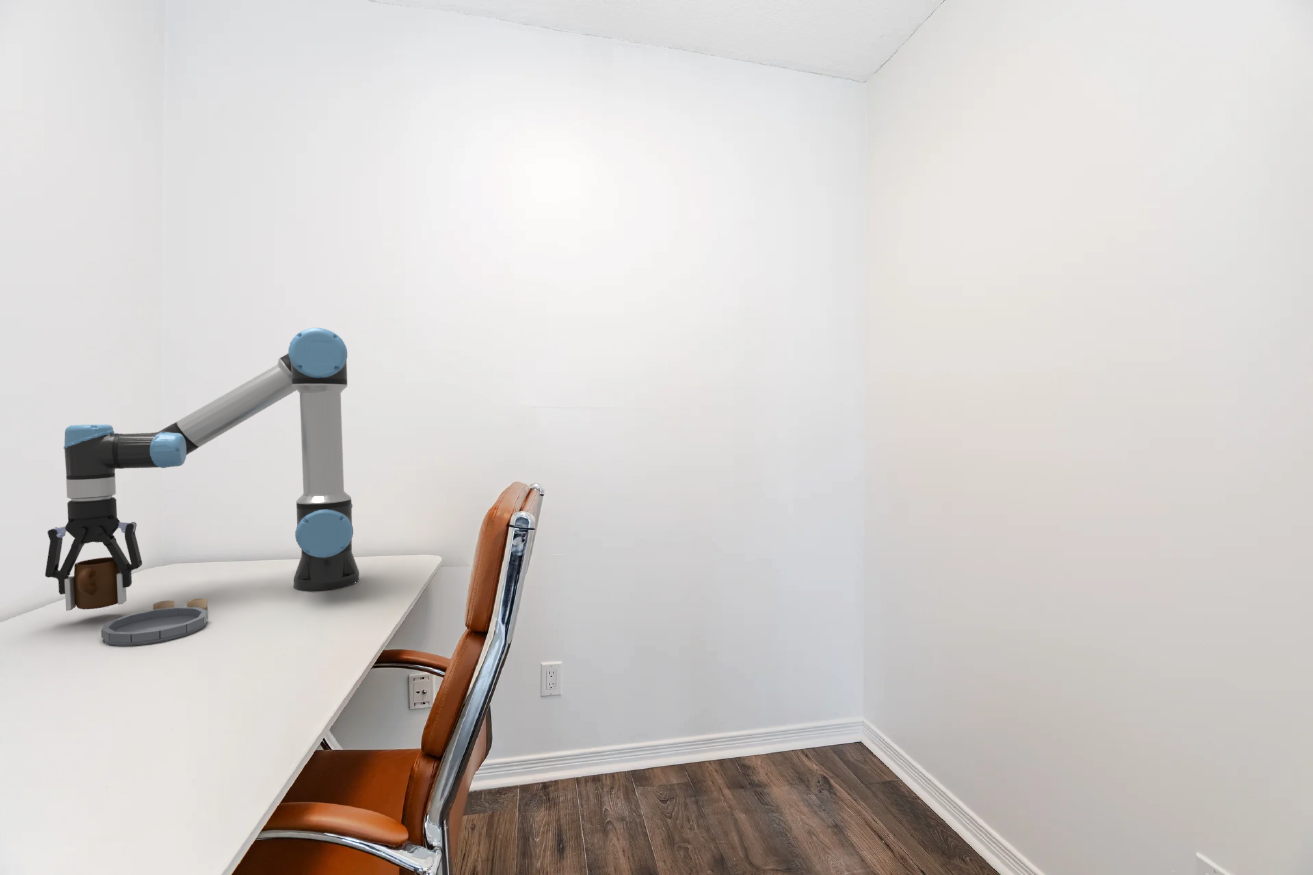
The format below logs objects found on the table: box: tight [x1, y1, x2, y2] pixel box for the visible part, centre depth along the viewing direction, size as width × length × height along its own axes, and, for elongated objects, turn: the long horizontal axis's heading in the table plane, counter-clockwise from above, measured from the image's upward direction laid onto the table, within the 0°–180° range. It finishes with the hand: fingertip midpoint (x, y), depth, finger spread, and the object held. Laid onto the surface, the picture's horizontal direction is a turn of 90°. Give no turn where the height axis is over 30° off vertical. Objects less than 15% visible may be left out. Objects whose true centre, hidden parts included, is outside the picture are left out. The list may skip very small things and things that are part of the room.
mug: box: [73, 556, 121, 610], centre depth 127 cm, size 12×8×9 cm, turn 24°
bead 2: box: [186, 597, 208, 611], centre depth 134 cm, size 4×4×3 cm
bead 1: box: [152, 600, 176, 610], centre depth 132 cm, size 4×4×3 cm
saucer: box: [100, 606, 209, 647], centre depth 123 cm, size 16×16×2 cm
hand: (97, 605), depth 128 cm, fingers closed on mug, 7 cm apart
